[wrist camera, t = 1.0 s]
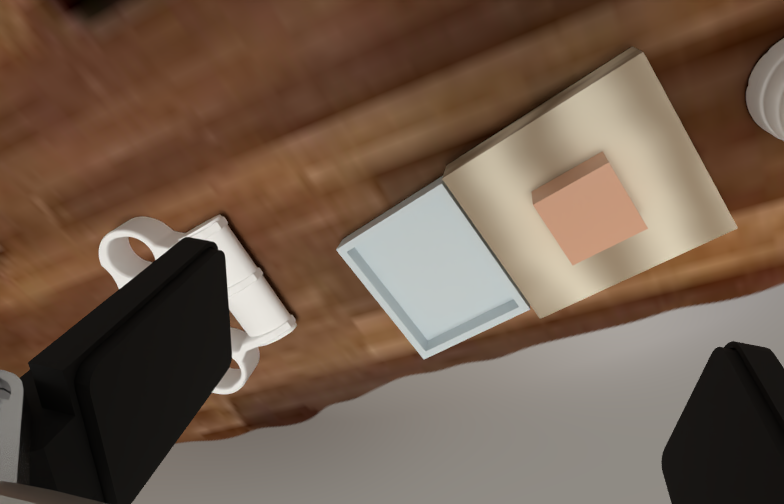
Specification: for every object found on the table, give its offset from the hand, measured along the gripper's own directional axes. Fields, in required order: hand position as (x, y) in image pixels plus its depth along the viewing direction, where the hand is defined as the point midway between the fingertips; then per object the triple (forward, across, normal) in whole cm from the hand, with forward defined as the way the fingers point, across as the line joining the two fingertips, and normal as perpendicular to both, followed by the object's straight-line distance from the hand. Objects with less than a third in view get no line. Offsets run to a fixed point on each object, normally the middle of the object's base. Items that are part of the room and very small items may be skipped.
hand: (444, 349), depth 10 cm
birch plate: (+29, -7, +6) cm, 31 cm away
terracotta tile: (+26, -7, +6) cm, 28 cm away
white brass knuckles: (+29, +23, +22) cm, 43 cm away
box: (+29, +2, +15) cm, 33 cm away
